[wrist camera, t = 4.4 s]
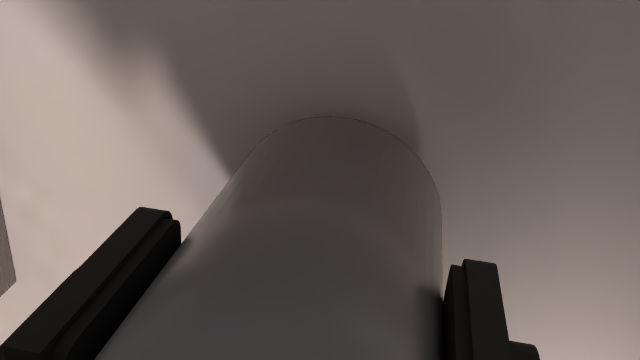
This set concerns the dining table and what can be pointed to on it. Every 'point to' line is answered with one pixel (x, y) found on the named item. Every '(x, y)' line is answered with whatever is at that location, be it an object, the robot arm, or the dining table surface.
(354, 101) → the dining table surface
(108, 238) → the robot arm
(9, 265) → the mount
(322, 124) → the lens
